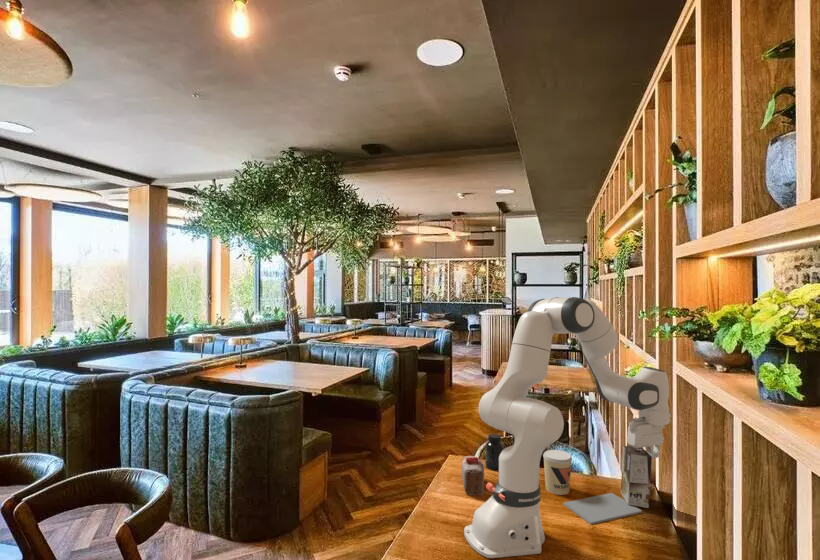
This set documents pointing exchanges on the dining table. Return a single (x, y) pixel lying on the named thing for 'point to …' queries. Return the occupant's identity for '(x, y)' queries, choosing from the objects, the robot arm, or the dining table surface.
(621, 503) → the mat
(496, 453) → the supplement bottle
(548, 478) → the coffee cup
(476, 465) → the food item
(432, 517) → the dining table surface
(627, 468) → the coffee box
